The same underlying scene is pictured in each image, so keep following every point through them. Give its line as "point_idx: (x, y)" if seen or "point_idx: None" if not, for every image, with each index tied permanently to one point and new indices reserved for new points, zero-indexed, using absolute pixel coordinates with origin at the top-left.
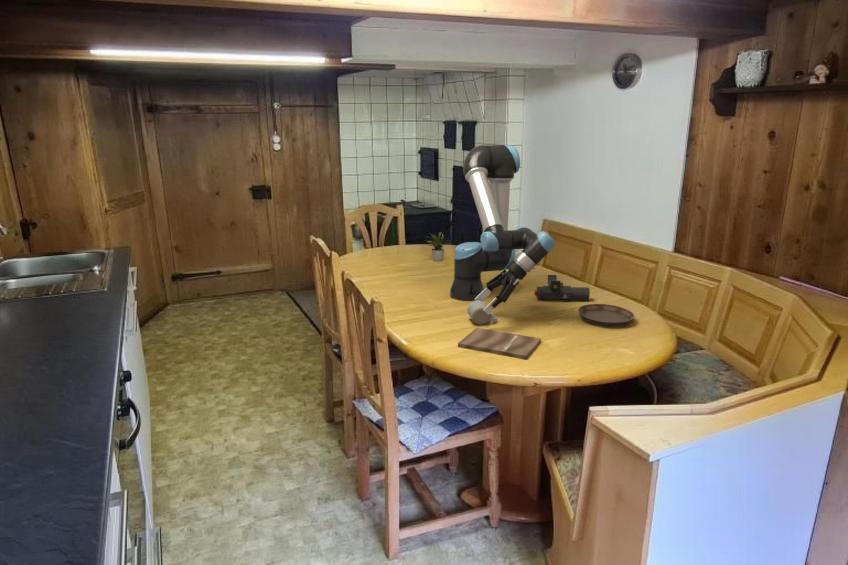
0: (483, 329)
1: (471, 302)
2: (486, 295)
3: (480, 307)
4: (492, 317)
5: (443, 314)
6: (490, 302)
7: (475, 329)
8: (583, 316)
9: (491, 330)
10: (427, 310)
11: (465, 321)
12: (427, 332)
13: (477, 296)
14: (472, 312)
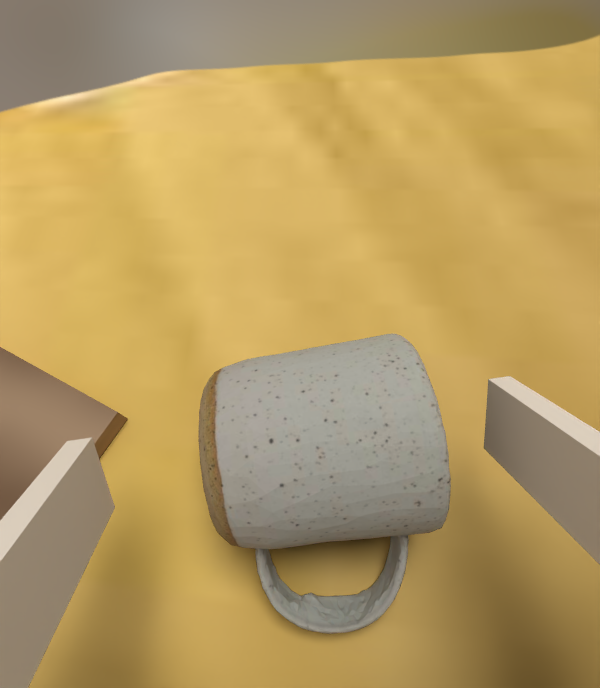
0: None
1: (408, 342)
2: (581, 530)
3: (222, 420)
4: (378, 587)
5: (448, 241)
6: (15, 535)
7: (80, 400)
8: None
9: None
10: (503, 171)
11: None
12: (155, 170)
13: (531, 398)
14: (241, 361)
